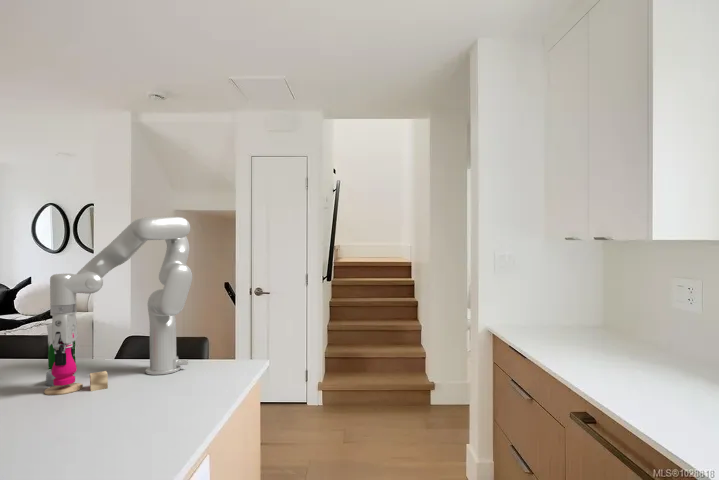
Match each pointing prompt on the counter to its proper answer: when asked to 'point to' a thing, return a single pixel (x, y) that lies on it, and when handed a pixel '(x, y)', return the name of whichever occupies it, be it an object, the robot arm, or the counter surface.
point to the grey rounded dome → (49, 378)
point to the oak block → (98, 381)
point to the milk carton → (51, 349)
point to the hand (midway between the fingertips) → (64, 362)
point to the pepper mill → (65, 369)
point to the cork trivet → (63, 389)
